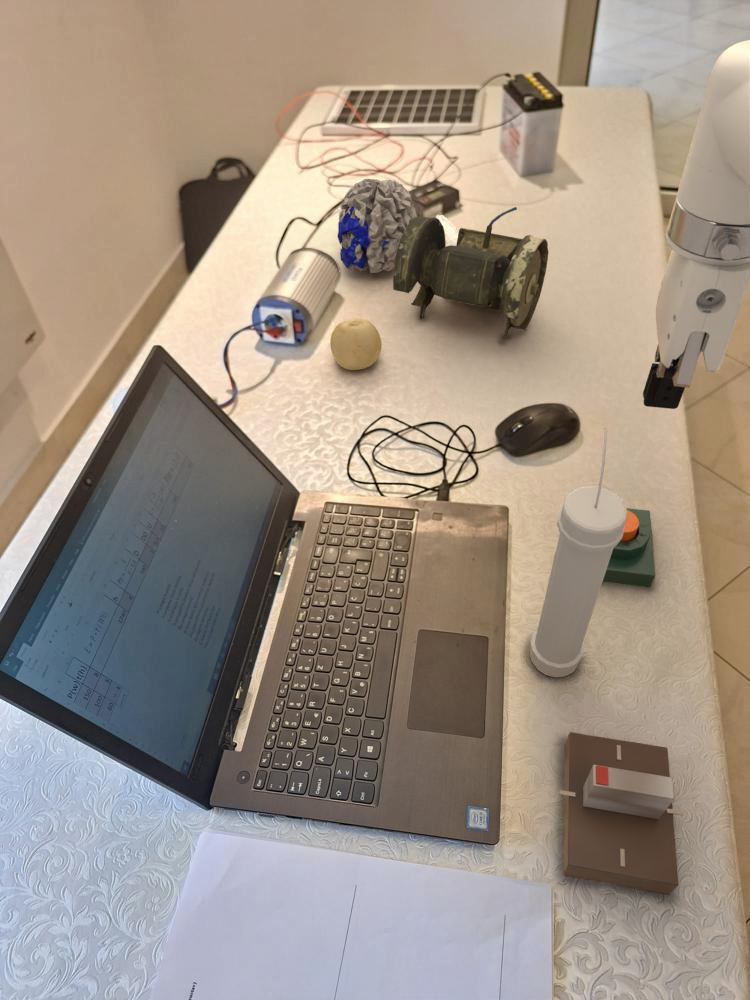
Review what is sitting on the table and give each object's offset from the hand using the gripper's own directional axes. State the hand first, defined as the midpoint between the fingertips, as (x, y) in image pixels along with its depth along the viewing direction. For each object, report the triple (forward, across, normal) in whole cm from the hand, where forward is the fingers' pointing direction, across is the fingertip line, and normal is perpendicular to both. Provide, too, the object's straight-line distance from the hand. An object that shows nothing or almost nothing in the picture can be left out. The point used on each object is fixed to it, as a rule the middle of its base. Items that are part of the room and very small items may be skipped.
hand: (659, 402), depth 71 cm
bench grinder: (+24, +47, +21) cm, 57 cm away
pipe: (+23, -16, +6) cm, 29 cm away
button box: (+23, 0, 0) cm, 23 cm away
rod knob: (+19, -32, +1) cm, 38 cm away
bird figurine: (+24, +67, +28) cm, 76 cm away
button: (+19, 0, 0) cm, 19 cm away
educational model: (+24, +64, +41) cm, 80 cm away
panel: (+22, -32, +1) cm, 39 cm away
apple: (+24, +32, +38) cm, 55 cm away
